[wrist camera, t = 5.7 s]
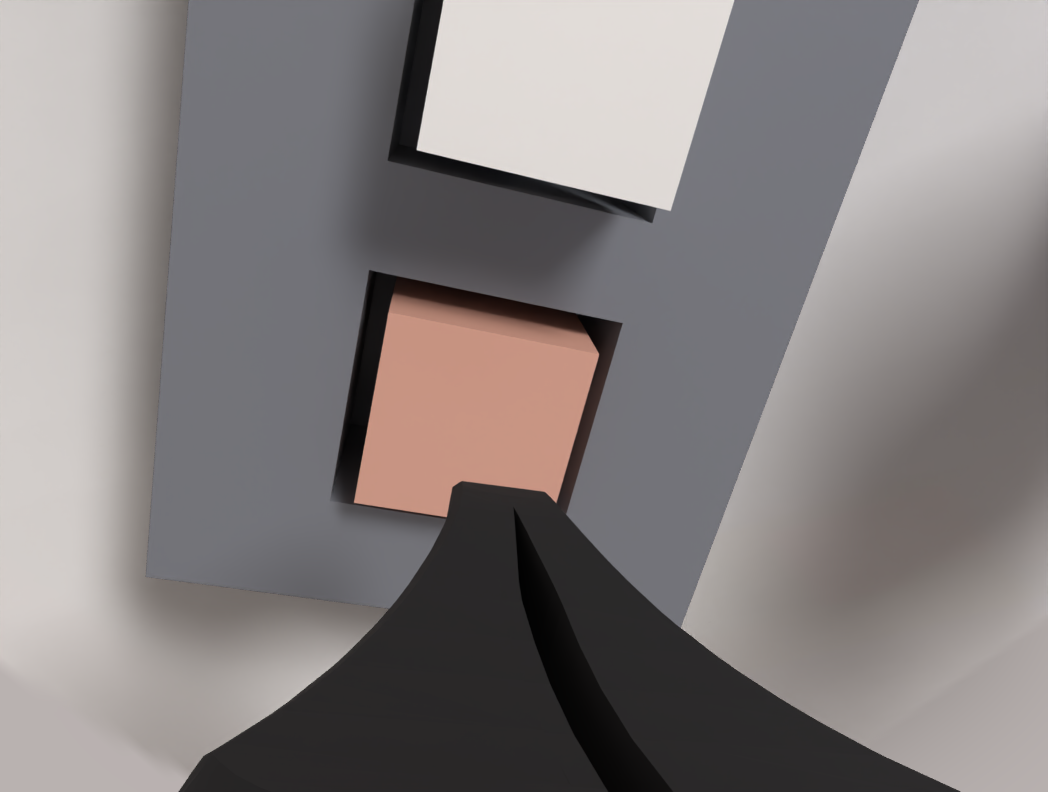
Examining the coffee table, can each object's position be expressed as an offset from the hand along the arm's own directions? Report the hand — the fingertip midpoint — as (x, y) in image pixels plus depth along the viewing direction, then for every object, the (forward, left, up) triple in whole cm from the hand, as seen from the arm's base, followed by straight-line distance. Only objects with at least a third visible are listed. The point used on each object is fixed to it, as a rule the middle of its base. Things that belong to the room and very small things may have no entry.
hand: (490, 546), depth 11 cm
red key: (0, 0, -7) cm, 7 cm away
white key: (0, -7, -5) cm, 9 cm away
